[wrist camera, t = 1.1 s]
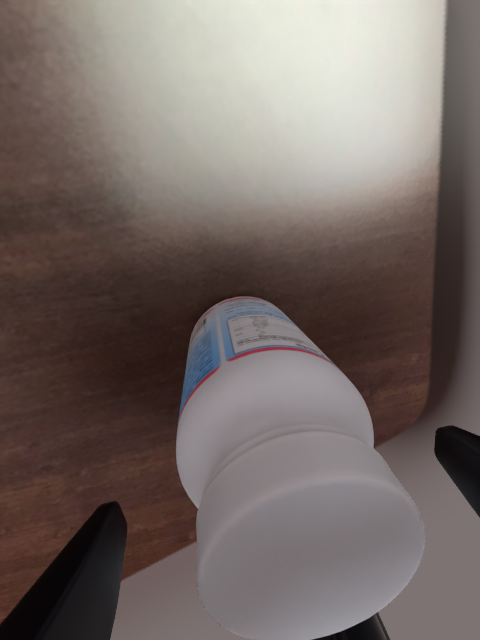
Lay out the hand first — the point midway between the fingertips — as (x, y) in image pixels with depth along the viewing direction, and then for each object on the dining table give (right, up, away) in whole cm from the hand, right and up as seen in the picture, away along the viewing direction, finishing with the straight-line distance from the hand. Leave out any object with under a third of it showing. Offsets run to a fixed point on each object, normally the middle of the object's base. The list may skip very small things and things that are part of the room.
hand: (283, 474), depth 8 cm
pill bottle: (-1, +3, +9) cm, 9 cm away
